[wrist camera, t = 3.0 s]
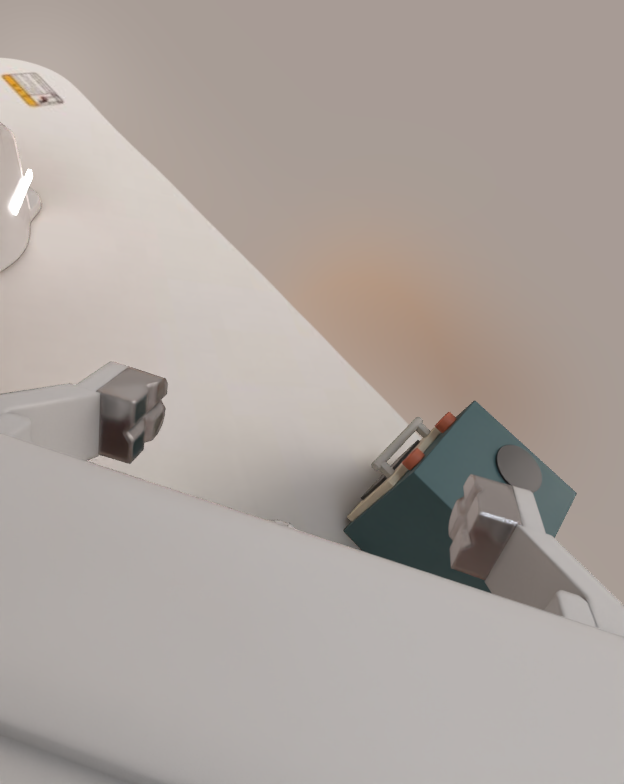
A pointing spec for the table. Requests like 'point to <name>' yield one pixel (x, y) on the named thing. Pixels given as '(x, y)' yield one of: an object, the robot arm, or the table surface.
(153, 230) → the table surface
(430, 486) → the toy oven
